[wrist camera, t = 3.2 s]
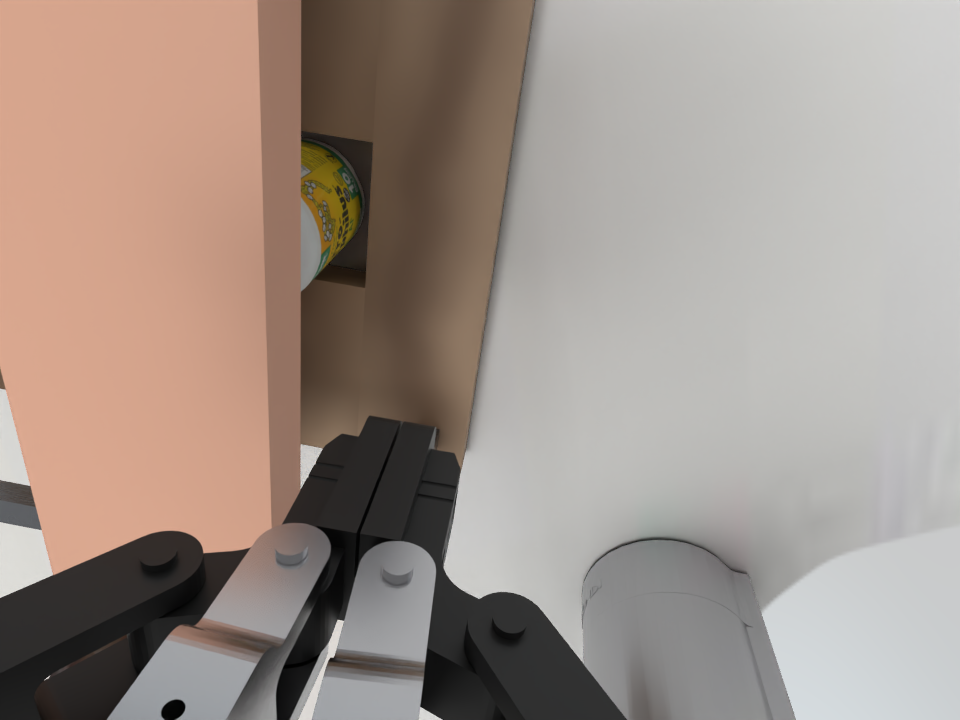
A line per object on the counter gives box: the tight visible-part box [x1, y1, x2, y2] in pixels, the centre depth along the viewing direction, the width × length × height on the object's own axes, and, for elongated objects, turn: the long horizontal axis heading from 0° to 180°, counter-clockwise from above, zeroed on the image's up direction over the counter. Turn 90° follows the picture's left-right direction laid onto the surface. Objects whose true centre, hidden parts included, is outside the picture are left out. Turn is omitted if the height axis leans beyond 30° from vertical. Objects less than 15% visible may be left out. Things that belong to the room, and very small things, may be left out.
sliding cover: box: [0, 0, 301, 575], centre depth 19 cm, size 8×24×2 cm, turn 172°
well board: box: [0, 0, 535, 473], centre depth 30 cm, size 28×26×2 cm
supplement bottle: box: [301, 138, 365, 291], centre depth 26 cm, size 5×5×10 cm
